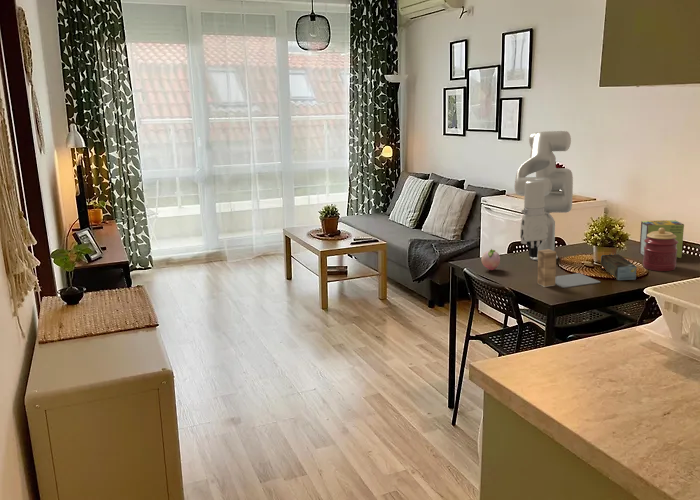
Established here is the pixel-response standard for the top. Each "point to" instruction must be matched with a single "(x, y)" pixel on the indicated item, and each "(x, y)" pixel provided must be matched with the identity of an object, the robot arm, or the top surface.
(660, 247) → the canister
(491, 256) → the decorative fruit
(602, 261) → the beverage carton
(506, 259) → the top surface
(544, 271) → the oak pillar
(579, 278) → the rubber mat
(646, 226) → the protein box
